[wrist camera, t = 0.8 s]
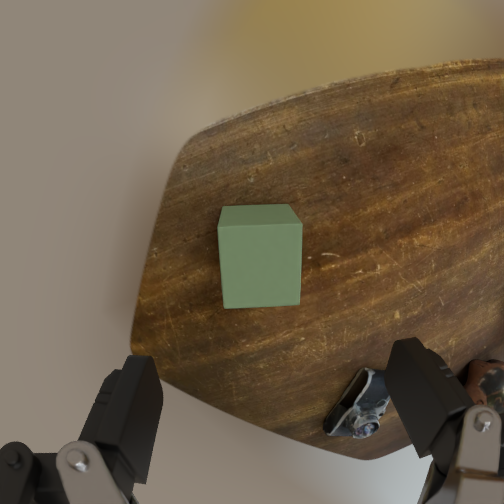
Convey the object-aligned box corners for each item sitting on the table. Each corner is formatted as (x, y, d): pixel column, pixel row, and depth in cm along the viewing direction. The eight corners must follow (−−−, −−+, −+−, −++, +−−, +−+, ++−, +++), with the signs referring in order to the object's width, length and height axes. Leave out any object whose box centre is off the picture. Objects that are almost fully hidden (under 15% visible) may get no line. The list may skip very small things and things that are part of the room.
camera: (403, 365, 27) (419, 392, 23) (355, 426, 30) (364, 453, 26) (365, 360, 26) (379, 391, 22) (318, 425, 30) (326, 454, 26)
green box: (222, 206, 20) (217, 226, 16) (288, 203, 21) (302, 223, 16) (226, 273, 22) (223, 309, 18) (288, 270, 22) (299, 305, 18)
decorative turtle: (452, 352, 27) (492, 394, 19) (511, 341, 29) (544, 370, 22) (417, 413, 30) (446, 456, 22) (482, 394, 32) (509, 424, 25)
